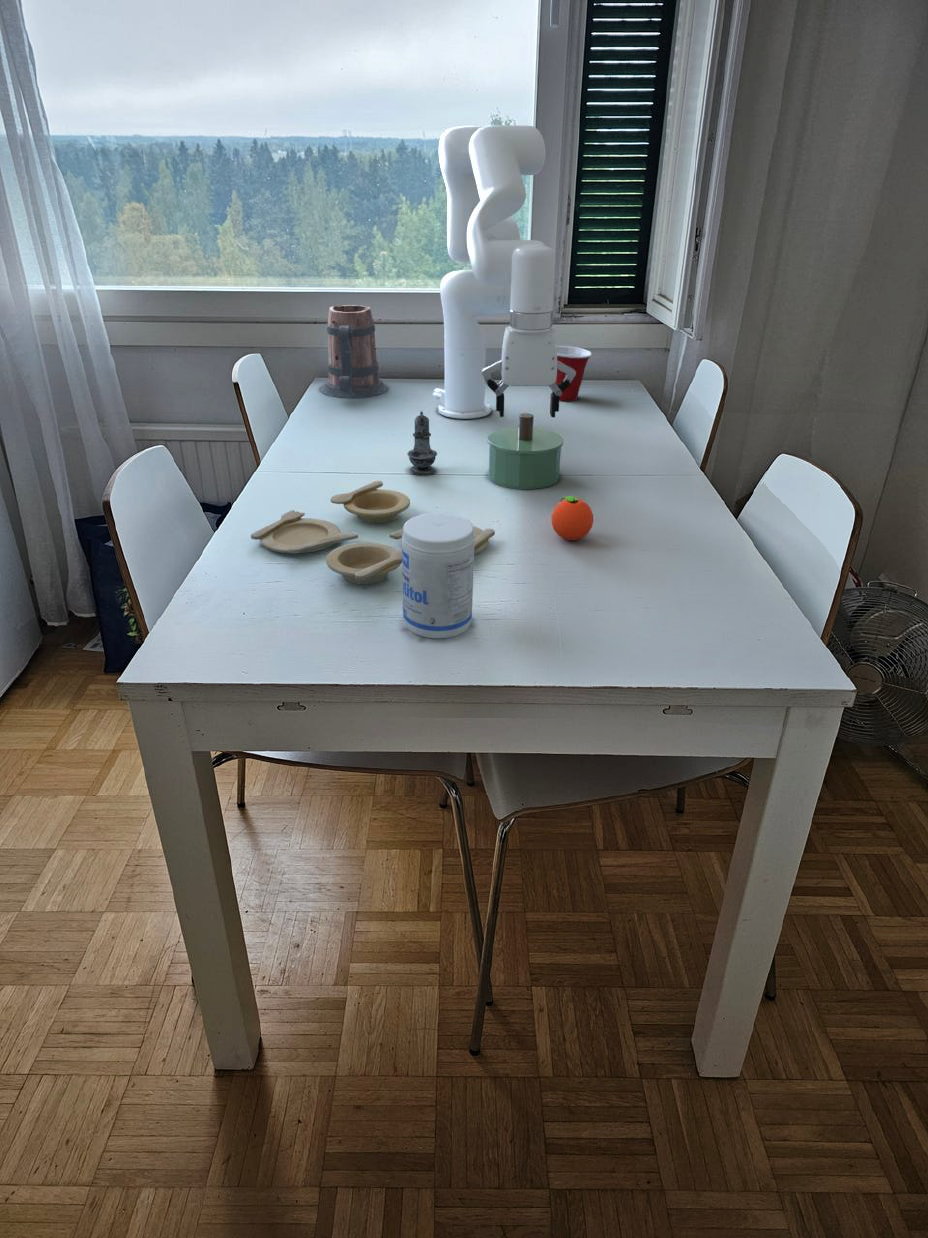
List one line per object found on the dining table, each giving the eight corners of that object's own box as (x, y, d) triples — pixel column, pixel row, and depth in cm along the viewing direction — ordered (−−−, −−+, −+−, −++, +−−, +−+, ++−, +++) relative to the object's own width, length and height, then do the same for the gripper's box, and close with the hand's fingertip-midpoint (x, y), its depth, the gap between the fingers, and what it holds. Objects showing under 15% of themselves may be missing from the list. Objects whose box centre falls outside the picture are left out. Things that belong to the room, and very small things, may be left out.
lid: (488, 457, 160) (489, 426, 158) (486, 432, 173) (486, 404, 170) (567, 457, 161) (569, 427, 158) (559, 432, 173) (561, 404, 170)
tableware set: (512, 547, 142) (513, 524, 140) (379, 611, 123) (378, 586, 121) (369, 491, 162) (368, 471, 160) (236, 539, 144) (233, 516, 142)
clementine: (539, 531, 148) (542, 491, 144) (575, 525, 150) (578, 486, 146) (562, 550, 141) (565, 509, 138) (599, 543, 144) (603, 503, 140)
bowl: (490, 489, 164) (491, 453, 161) (487, 464, 176) (488, 430, 172) (561, 489, 164) (564, 453, 161) (554, 464, 176) (557, 430, 173)
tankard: (327, 379, 232) (321, 300, 222) (390, 380, 231) (387, 301, 221) (310, 404, 211) (303, 319, 201) (379, 405, 211) (376, 320, 201)
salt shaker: (439, 466, 175) (438, 407, 169) (435, 476, 170) (434, 416, 164) (410, 464, 175) (408, 406, 169) (405, 475, 170) (404, 414, 164)
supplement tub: (389, 625, 120) (385, 527, 112) (434, 600, 126) (434, 505, 119) (441, 649, 114) (441, 548, 107) (486, 622, 121) (489, 524, 113)
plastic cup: (590, 404, 214) (594, 354, 208) (546, 403, 214) (549, 354, 208) (585, 392, 223) (589, 344, 217) (543, 391, 223) (546, 343, 217)
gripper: (576, 317, 159) (570, 409, 167) (482, 316, 159) (480, 409, 167) (581, 325, 152) (575, 421, 161) (483, 324, 152) (481, 420, 160)
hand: (526, 415), depth 164 cm, fingers open, 9 cm apart
